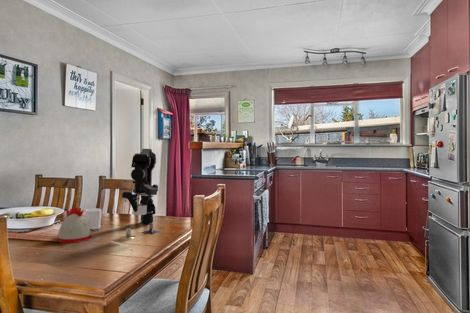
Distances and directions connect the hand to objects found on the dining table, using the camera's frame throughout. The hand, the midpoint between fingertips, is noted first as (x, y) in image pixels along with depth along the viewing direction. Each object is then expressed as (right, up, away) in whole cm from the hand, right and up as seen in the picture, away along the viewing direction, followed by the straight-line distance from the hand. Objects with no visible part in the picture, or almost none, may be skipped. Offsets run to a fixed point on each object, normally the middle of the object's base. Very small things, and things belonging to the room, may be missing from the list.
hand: (139, 210), depth 148 cm
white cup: (-29, -12, +13) cm, 34 cm away
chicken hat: (-29, -12, -5) cm, 32 cm away
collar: (0, -2, 0) cm, 2 cm away
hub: (-4, -13, -4) cm, 14 cm away
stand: (+4, -13, +6) cm, 15 cm away
